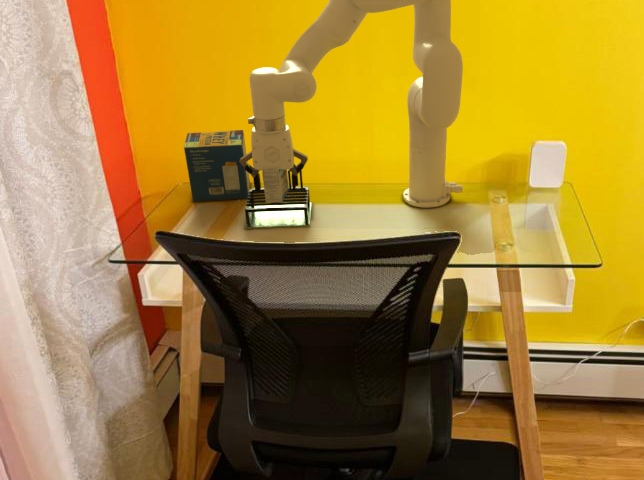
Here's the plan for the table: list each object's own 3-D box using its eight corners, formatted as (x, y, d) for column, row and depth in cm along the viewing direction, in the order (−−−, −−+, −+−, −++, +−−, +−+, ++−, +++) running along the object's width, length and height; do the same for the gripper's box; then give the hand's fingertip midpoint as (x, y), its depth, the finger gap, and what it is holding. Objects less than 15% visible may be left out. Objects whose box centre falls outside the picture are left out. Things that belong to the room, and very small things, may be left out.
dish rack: (311, 204, 210) (309, 168, 204) (309, 226, 200) (307, 189, 193) (250, 206, 210) (245, 170, 204) (245, 229, 200) (240, 191, 194)
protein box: (195, 186, 222) (186, 132, 212) (250, 182, 222) (243, 129, 213) (192, 202, 213) (182, 147, 204) (249, 198, 214) (242, 144, 204)
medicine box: (282, 203, 198) (279, 171, 193) (265, 203, 199) (261, 170, 193) (289, 190, 204) (286, 158, 199) (272, 189, 205) (269, 157, 200)
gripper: (232, 129, 187) (241, 196, 197) (305, 126, 187) (310, 194, 197) (235, 118, 193) (244, 184, 203) (306, 115, 193) (311, 181, 203)
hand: (276, 188), depth 200 cm, fingers open, 8 cm apart
